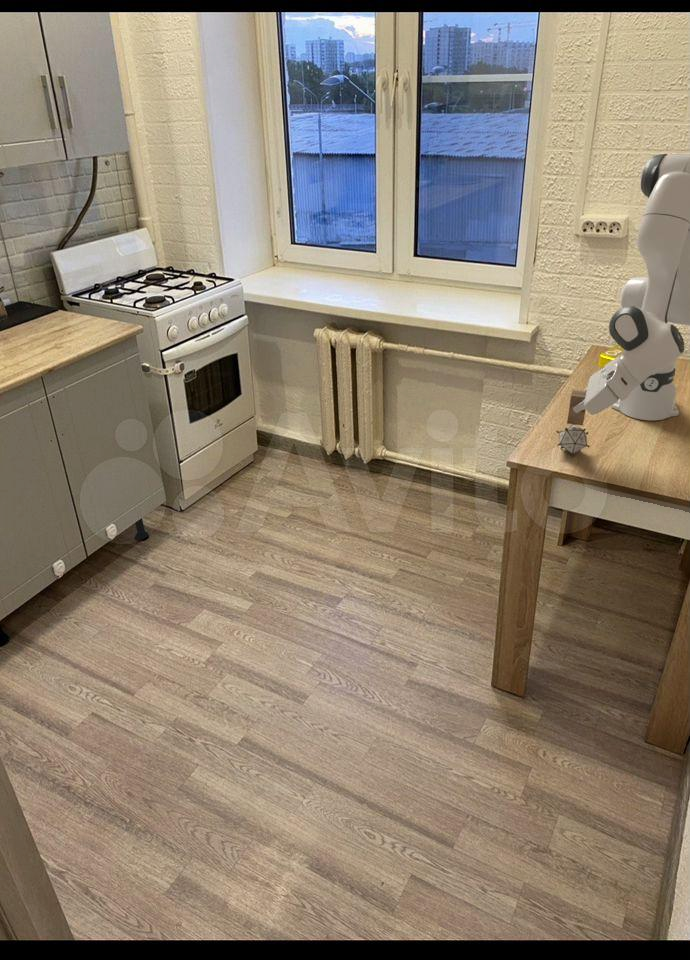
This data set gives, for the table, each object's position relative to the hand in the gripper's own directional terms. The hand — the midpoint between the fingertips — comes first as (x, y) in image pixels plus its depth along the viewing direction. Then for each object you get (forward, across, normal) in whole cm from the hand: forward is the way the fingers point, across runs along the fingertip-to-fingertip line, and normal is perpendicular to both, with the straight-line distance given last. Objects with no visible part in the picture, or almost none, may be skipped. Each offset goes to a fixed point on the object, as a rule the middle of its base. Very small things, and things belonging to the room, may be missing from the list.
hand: (575, 405), depth 186 cm
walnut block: (+3, 0, +4) cm, 4 cm away
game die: (+9, 0, +10) cm, 14 cm away
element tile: (+2, -70, +19) cm, 73 cm away
